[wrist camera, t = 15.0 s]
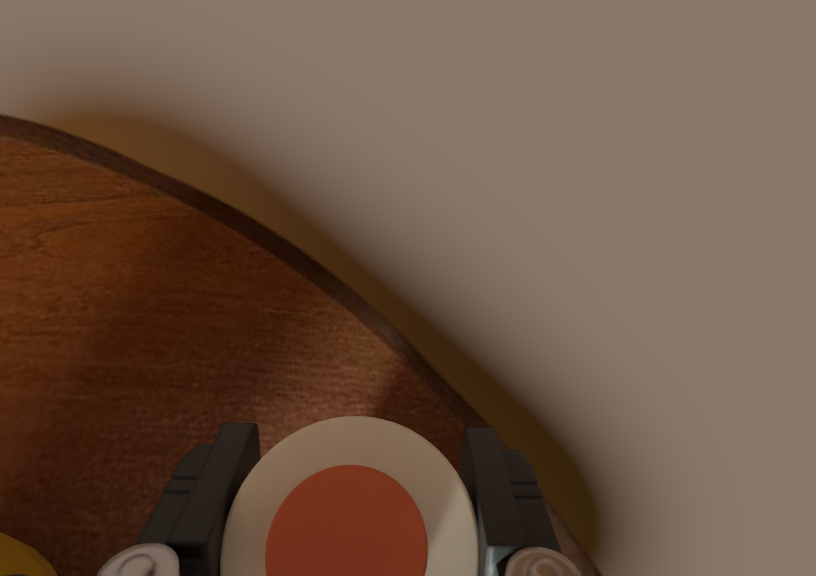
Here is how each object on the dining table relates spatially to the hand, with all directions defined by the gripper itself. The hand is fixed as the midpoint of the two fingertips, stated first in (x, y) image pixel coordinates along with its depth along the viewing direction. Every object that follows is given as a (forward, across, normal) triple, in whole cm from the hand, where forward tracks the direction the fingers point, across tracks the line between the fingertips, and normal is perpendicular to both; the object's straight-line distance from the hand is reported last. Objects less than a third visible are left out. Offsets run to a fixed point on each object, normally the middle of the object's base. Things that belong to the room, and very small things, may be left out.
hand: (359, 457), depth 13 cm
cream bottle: (+2, 0, +5) cm, 5 cm away
